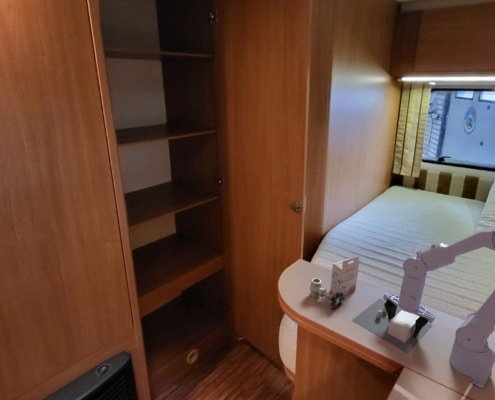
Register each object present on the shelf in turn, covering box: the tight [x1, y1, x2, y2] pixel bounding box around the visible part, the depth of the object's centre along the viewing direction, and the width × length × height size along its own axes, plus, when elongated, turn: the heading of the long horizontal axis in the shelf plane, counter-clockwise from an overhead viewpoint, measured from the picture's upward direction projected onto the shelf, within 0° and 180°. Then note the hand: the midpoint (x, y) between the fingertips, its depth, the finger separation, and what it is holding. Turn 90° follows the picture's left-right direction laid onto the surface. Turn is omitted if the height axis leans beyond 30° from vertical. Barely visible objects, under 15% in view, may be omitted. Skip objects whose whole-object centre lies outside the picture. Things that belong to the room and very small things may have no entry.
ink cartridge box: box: [329, 256, 360, 296], centre depth 120 cm, size 9×5×15 cm, turn 119°
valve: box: [309, 277, 345, 311], centre depth 115 cm, size 7×7×12 cm
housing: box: [387, 309, 420, 343], centre depth 101 cm, size 9×5×4 cm, turn 131°
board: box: [351, 298, 433, 354], centre depth 105 cm, size 18×18×4 cm
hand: (403, 329), depth 101 cm, fingers open, 7 cm apart
